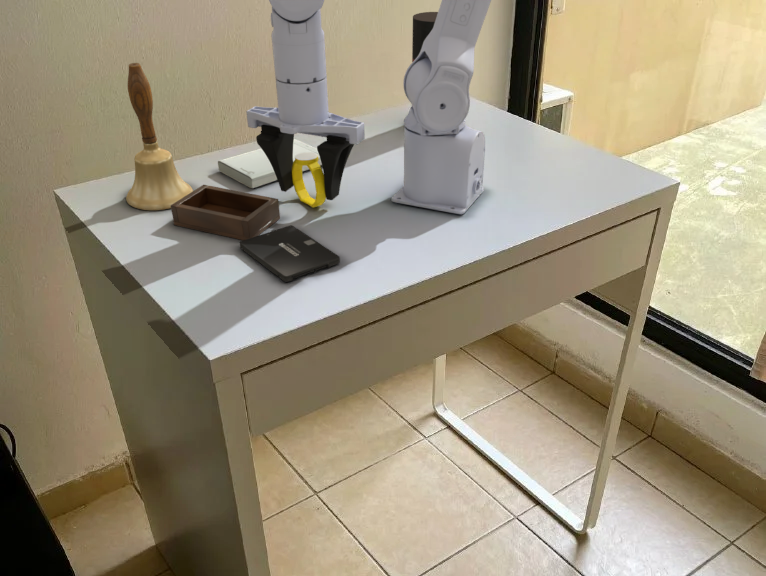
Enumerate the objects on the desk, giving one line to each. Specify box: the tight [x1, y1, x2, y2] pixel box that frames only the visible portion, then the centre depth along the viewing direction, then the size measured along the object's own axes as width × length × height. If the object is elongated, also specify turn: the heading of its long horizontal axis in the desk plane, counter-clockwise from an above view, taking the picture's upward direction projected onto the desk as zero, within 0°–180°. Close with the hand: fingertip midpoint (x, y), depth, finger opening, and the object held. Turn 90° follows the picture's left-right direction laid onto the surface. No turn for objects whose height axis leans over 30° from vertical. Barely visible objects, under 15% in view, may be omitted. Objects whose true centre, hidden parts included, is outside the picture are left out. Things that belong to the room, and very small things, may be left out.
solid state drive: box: [239, 225, 341, 283], centre depth 84 cm, size 7×10×1 cm
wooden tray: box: [170, 184, 281, 241], centre depth 91 cm, size 11×7×2 cm, turn 65°
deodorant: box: [411, 11, 438, 63], centre depth 112 cm, size 6×6×15 cm
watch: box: [292, 152, 327, 208], centre depth 93 cm, size 6×3×6 cm, turn 36°
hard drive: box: [217, 138, 322, 189], centre depth 104 cm, size 2×8×12 cm
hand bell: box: [125, 62, 194, 211], centre depth 92 cm, size 8×8×16 cm
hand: (309, 192), depth 94 cm, fingers closed on watch, 6 cm apart
